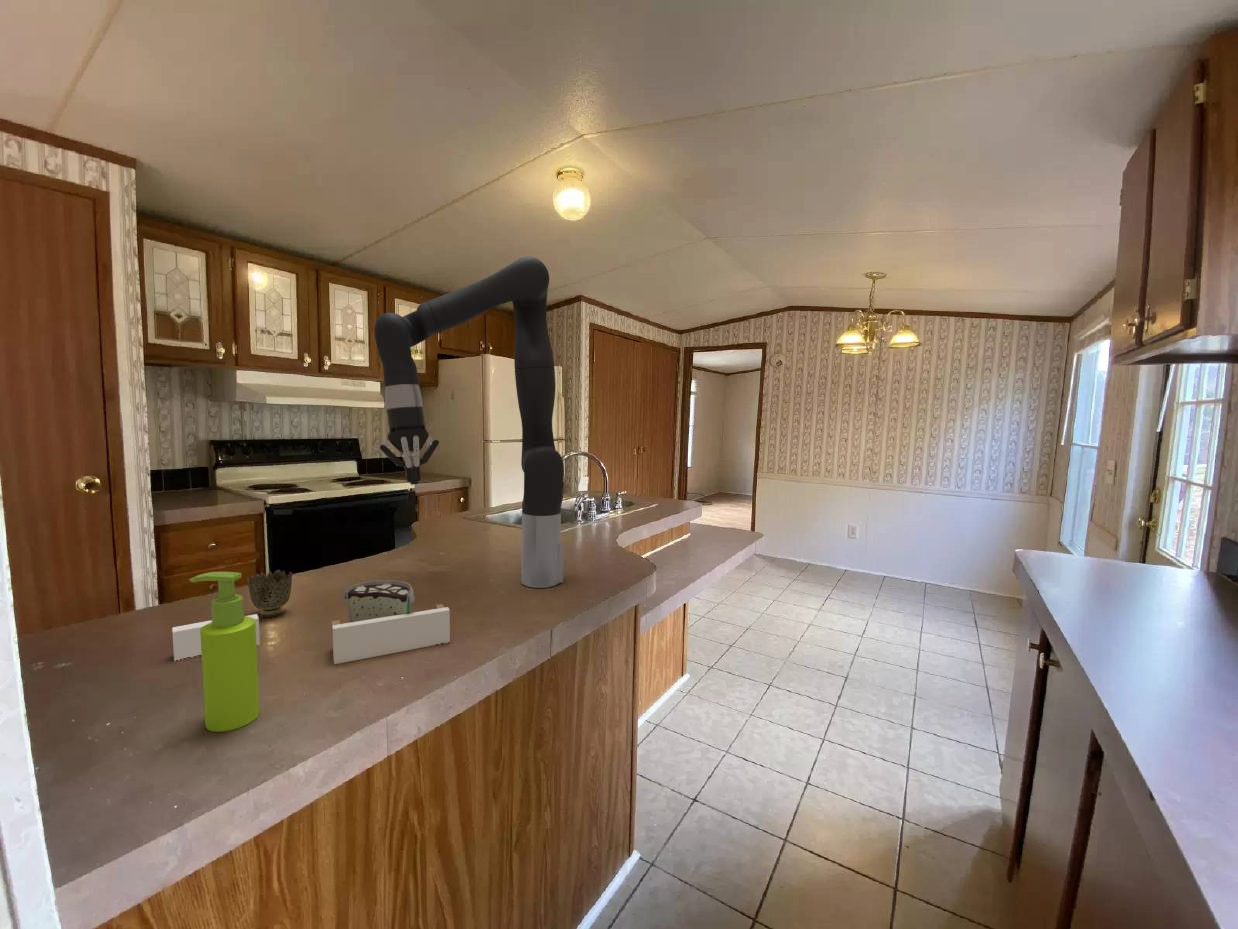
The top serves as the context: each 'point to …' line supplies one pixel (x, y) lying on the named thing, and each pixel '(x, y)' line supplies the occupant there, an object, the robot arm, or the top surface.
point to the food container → (378, 599)
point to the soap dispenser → (229, 658)
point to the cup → (270, 592)
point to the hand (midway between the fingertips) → (414, 484)
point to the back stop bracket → (390, 634)
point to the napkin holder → (195, 639)
